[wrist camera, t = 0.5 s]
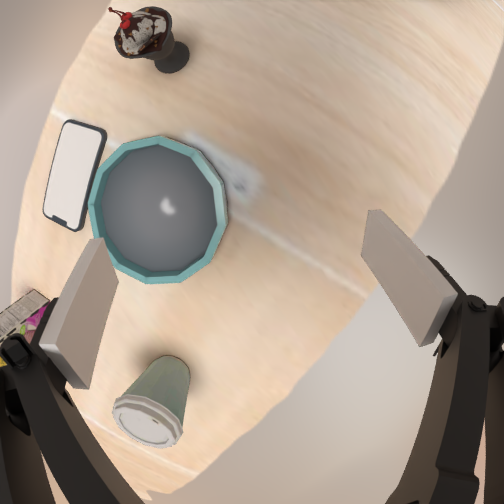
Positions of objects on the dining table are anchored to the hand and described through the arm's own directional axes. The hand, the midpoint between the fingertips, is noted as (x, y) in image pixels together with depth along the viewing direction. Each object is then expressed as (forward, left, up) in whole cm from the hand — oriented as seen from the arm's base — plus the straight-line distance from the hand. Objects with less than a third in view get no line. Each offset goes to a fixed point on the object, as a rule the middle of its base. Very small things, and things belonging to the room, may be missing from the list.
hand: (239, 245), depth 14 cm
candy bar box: (+38, -29, -25) cm, 54 cm away
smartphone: (+9, -27, -25) cm, 38 cm away
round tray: (+8, -11, -24) cm, 28 cm away
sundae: (-12, -18, -25) cm, 33 cm away
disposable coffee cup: (+33, -1, -25) cm, 41 cm away
